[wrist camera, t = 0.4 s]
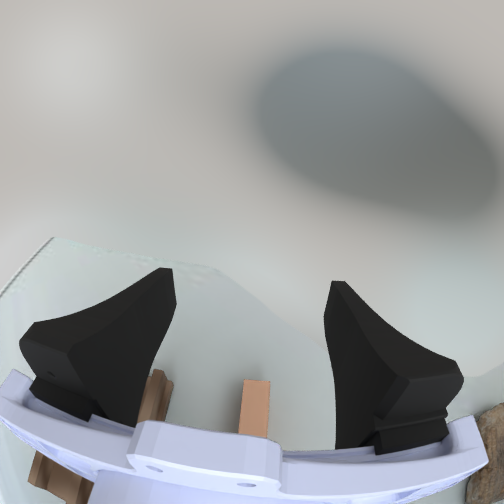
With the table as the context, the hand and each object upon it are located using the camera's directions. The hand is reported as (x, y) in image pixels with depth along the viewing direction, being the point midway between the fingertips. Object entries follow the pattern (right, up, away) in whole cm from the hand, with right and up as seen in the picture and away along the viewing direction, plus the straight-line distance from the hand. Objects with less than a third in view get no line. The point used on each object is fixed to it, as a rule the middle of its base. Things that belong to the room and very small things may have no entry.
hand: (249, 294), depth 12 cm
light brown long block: (0, -17, +10) cm, 20 cm away
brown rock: (+34, -25, +2) cm, 42 cm away
